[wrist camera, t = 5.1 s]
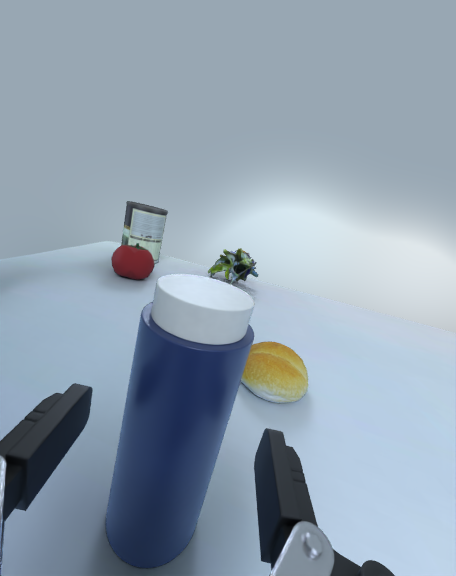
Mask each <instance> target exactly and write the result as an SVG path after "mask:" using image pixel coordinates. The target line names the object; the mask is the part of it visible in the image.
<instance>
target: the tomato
mask: <svg viewBox="0 0 456 576" xmlns="http://www.w3.org/2000/svg"><path fill="white" fill-rule="evenodd" d="M112 266H113V269H114V271H115V272H116V273H117V274H118V275H120V276H124V277H128V278H130V279H137V280H140V279H144V278H146V277H148V276H149V274H150V273H151V272H152V271H153V268H154V259H153V256H152V254H151V253H150V252H149V251H148V250H147V249H145V248H143V247H141V246H139V243H136V245H122V246H120V247H119V248H117V249H116V251H115V252H114V253H113V256H112Z"/></svg>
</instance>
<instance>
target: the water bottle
mask: <svg viewBox="0 0 456 576" xmlns="http://www.w3.org/2000/svg"><path fill="white" fill-rule="evenodd" d="M254 305H255V303H254V300H253V298H252V297H251V296H250V295H249V294H247V293H246V292H244V291H243V290H241V289H239V288H237V287H235V286H233V285H230V284H228V283H225V282H222V281H219V280H216V279H212V278H208V277H203V276H197V275H190V274H169V275H165V276H162V277H160V278H159V279H158V280H157V283H156V289H155V294H154V300H153V302H151V303H149V304H148V305H146V306H145V307H144V309H143V310H142V313H141V317H140V323H139V329H138V335H137V340H136V346H135V352H134V358H133V364H132V369H131V375H130V381H129V387H128V393H127V398H126V404H125V410H124V416H123V422H122V427H121V433H120V439H119V445H118V450H117V456H116V462H115V468H114V474H113V479H112V485H111V491H110V497H109V503H108V508H107V514H106V532H107V537H108V540H109V543H110V545H111V547H112V549H113V550H114V552H115V553H116V554H117V555H118V556H119V557H120V558H121V559H122V560H123V561H125V562H126V563H128V564H130V565H132V566H135V567H139V568H153V567H157V566H161V565H163V564H166V563H168V562H169V561H171V560H173V559H174V558H175V557H176V556H178V555H179V554H180V553H181V552H182V551H183V550H184V548H185V547H186V546H187V544H188V543H189V541H190V539H191V537H192V535H193V533H194V530H195V527H196V524H197V521H198V517H199V514H200V511H201V508H202V505H203V501H204V498H205V495H206V492H207V488H208V485H209V482H210V479H211V475H212V472H213V469H214V466H215V462H216V459H217V456H218V453H219V450H220V446H221V443H222V440H223V437H224V433H225V430H226V427H227V424H228V420H229V417H230V414H231V411H232V408H233V404H234V401H235V398H236V395H237V391H238V388H239V385H240V382H241V378H242V375H243V372H244V369H245V365H246V362H247V359H248V356H249V353H250V349H251V346H252V343H253V340H254V332H253V329H252V328H251V326H250V325H249V321H250V318H251V315H252V311H253V308H254Z"/></svg>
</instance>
